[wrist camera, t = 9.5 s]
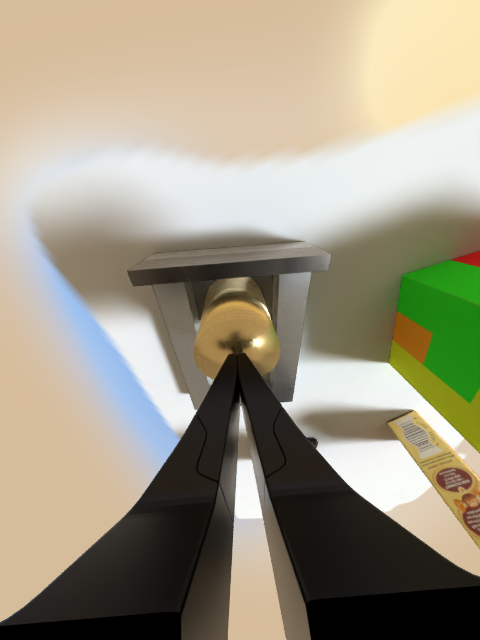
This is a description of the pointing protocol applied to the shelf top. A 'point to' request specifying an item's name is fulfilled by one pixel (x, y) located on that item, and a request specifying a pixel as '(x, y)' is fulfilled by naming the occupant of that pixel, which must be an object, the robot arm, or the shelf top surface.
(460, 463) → the candy box
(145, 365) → the shelf top surface
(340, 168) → the shelf top surface
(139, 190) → the shelf top surface
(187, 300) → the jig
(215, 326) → the gold metal cylinder
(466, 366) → the puzzle toy
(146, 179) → the shelf top surface
